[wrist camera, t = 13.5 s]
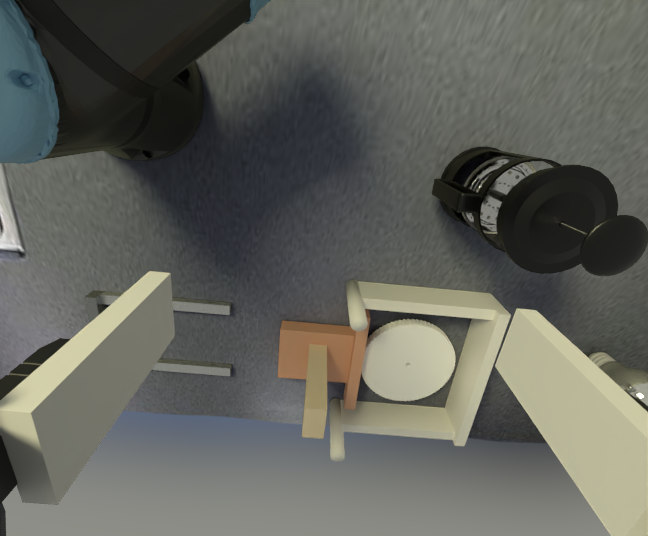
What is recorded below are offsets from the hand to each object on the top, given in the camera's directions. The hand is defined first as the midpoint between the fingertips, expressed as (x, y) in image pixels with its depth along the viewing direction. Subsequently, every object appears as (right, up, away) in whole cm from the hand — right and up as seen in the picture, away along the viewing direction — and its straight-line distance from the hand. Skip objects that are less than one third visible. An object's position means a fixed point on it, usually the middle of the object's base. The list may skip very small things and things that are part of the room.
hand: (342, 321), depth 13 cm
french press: (+18, +12, +30) cm, 37 cm away
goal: (+11, -11, +40) cm, 43 cm away
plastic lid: (+12, -11, +41) cm, 44 cm away
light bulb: (+40, -11, +40) cm, 58 cm away
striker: (-1, -10, +39) cm, 41 cm away
